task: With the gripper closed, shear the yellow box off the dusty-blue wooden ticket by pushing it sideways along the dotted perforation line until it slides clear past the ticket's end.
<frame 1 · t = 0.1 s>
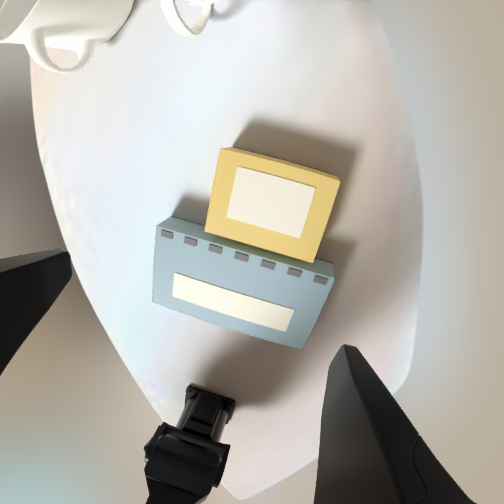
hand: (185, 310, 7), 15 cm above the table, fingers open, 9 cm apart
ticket: (239, 278, 24), on the table
yellow box: (270, 202, 19), point 1 cm above the table, slide at 0.0 cm
cup: (208, 1, 15), on the table
mug: (102, 28, 16), on the table
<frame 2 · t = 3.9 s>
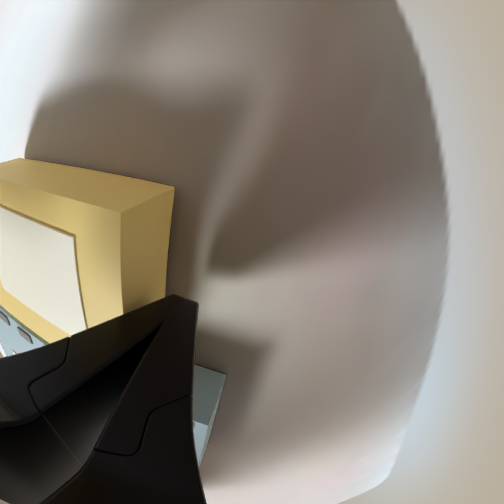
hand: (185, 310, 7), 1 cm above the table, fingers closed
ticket: (94, 365, 12), on the table
yellow box: (53, 260, 8), point 1 cm above the table, slide at 0.6 cm, touching gripper
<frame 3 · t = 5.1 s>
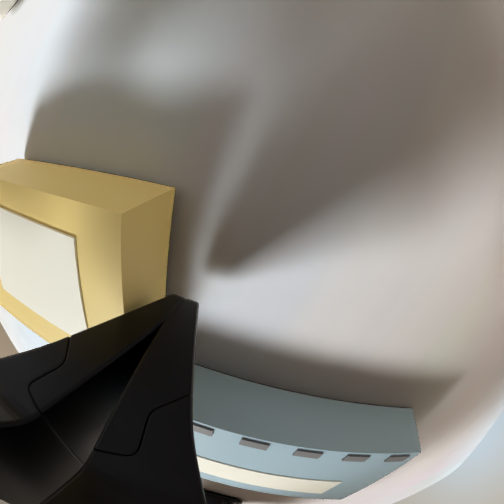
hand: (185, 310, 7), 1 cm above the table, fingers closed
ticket: (248, 426, 12), on the table
yellow box: (53, 261, 8), point 1 cm above the table, slide at 9.3 cm, touching gripper
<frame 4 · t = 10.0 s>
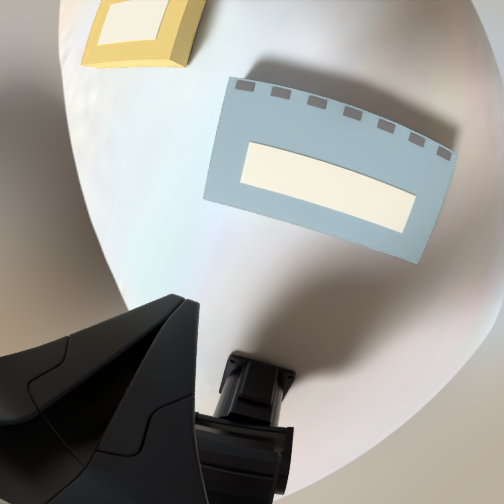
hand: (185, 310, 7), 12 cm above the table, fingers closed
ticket: (332, 165, 16), on the table
yellow box: (139, 27, 13), point 1 cm above the table, slide at 16.0 cm
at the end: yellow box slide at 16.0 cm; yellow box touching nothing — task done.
